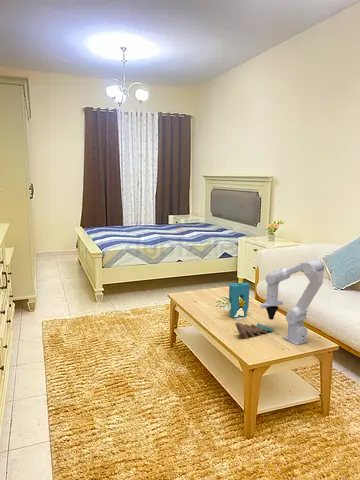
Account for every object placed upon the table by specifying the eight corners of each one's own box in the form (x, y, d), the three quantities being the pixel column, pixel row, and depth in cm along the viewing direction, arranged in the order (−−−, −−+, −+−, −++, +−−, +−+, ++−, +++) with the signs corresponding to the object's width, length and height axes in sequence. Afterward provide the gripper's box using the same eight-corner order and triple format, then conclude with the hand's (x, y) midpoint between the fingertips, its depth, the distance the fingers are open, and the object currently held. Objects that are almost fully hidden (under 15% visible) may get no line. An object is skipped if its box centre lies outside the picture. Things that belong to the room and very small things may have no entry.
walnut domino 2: (254, 334, 192) (246, 326, 188) (252, 337, 192) (244, 328, 188) (248, 331, 196) (240, 323, 193) (246, 333, 196) (238, 325, 192)
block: (244, 313, 226) (245, 282, 223) (248, 316, 221) (250, 284, 218) (227, 316, 221) (228, 284, 218) (232, 319, 216) (233, 286, 213)
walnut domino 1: (248, 337, 190) (243, 325, 187) (245, 339, 189) (241, 327, 187) (241, 333, 194) (237, 321, 191) (239, 335, 194) (235, 323, 191)
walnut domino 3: (260, 332, 194) (251, 327, 190) (259, 335, 194) (250, 329, 190) (254, 329, 198) (245, 323, 194) (253, 332, 198) (244, 326, 194)
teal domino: (273, 329, 198) (263, 326, 194) (272, 332, 198) (262, 329, 194) (267, 326, 203) (257, 323, 199) (266, 328, 203) (256, 326, 199)
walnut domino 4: (267, 331, 196) (257, 327, 192) (266, 333, 196) (256, 330, 192) (261, 327, 201) (251, 323, 196) (259, 330, 200) (250, 326, 196)
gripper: (276, 291, 205) (275, 314, 207) (257, 294, 198) (255, 318, 200) (286, 294, 199) (284, 318, 201) (266, 298, 191) (264, 323, 194)
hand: (271, 318), depth 200 cm, fingers closed
